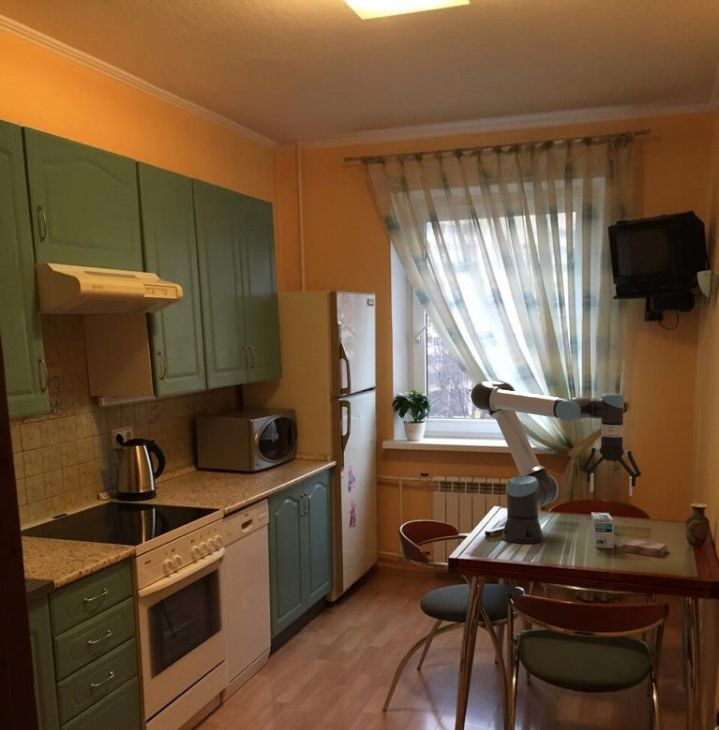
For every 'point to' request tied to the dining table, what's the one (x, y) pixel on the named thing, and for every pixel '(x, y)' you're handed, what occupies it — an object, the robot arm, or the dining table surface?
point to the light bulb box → (602, 530)
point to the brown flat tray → (645, 548)
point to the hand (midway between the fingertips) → (610, 493)
